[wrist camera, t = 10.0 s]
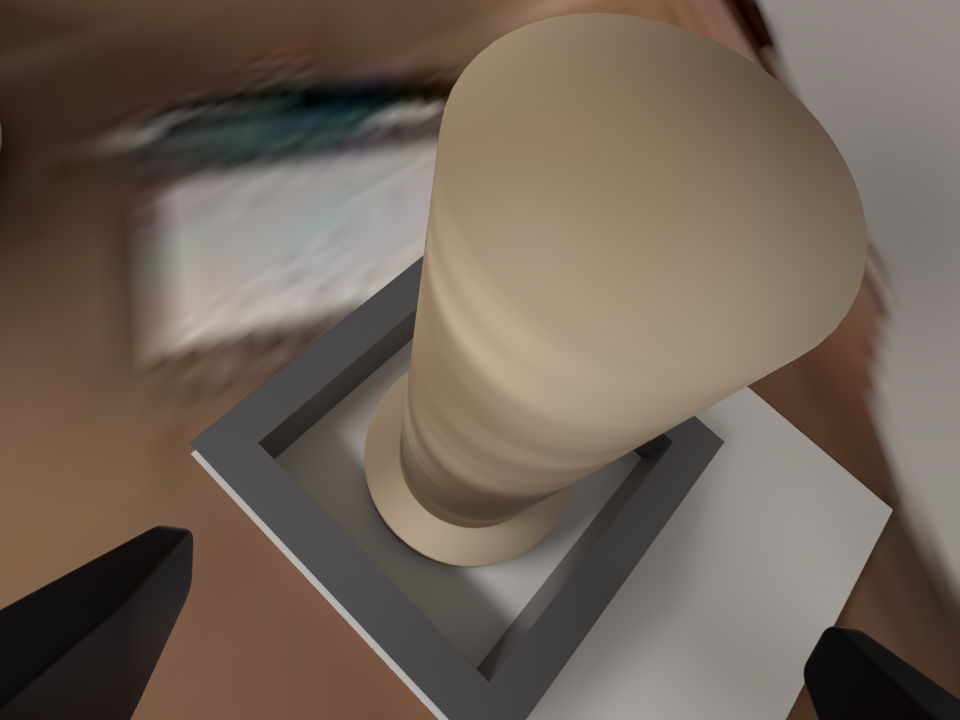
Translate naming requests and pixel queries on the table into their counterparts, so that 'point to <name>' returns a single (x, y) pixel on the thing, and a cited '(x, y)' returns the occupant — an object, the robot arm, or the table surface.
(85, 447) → the table surface
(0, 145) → the plastic bottle
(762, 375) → the peg
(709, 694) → the collar board
